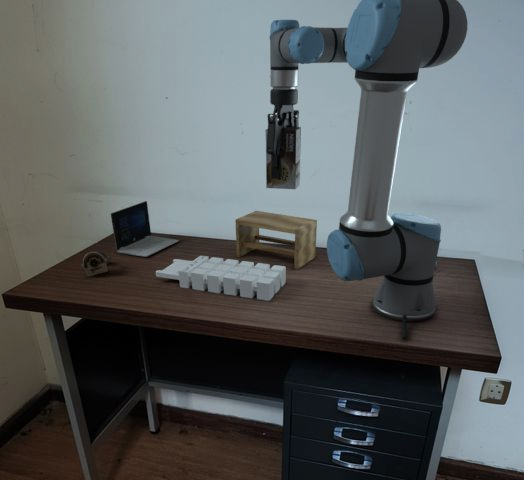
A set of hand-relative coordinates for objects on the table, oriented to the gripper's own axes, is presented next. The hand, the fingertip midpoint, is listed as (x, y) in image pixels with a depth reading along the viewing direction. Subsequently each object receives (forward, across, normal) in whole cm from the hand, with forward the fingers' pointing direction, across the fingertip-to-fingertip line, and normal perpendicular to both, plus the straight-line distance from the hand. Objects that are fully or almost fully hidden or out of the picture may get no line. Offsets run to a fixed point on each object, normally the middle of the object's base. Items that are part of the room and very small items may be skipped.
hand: (283, 175), depth 146 cm
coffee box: (+3, 0, 0) cm, 3 cm away
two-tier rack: (+25, +1, -2) cm, 25 cm away
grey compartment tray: (+25, +27, -5) cm, 37 cm away
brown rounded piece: (+25, +38, -42) cm, 61 cm away
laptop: (+25, +15, -44) cm, 53 cm away
